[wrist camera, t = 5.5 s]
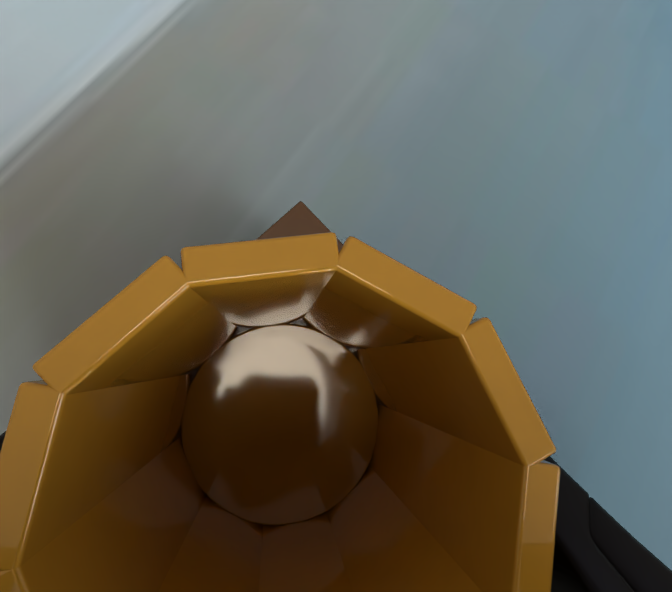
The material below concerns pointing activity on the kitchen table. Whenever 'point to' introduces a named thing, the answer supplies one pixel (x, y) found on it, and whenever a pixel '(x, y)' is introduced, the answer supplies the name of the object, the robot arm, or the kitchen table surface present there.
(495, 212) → the kitchen table surface
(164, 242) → the kitchen table surface
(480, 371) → the cup
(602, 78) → the kitchen table surface
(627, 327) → the kitchen table surface
